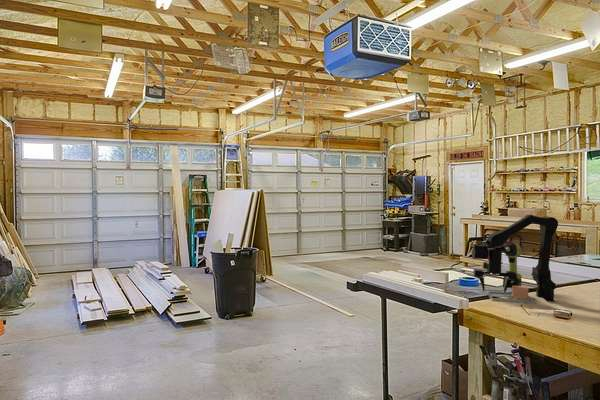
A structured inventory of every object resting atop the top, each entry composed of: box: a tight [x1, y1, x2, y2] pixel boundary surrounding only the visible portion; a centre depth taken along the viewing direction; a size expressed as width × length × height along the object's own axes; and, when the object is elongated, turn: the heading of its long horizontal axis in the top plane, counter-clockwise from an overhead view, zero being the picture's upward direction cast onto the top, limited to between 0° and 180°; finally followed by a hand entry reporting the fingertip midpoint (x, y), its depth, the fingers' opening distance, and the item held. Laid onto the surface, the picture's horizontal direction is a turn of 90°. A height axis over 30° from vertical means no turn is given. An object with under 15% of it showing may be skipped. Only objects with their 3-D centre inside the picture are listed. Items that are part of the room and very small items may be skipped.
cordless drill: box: [502, 241, 523, 289], centre depth 226 cm, size 23×7×25 cm, turn 143°
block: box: [511, 285, 529, 299], centre depth 207 cm, size 6×5×4 cm
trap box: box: [485, 290, 536, 305], centre depth 205 cm, size 18×16×2 cm
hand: (493, 291), depth 210 cm, fingers open, 9 cm apart
